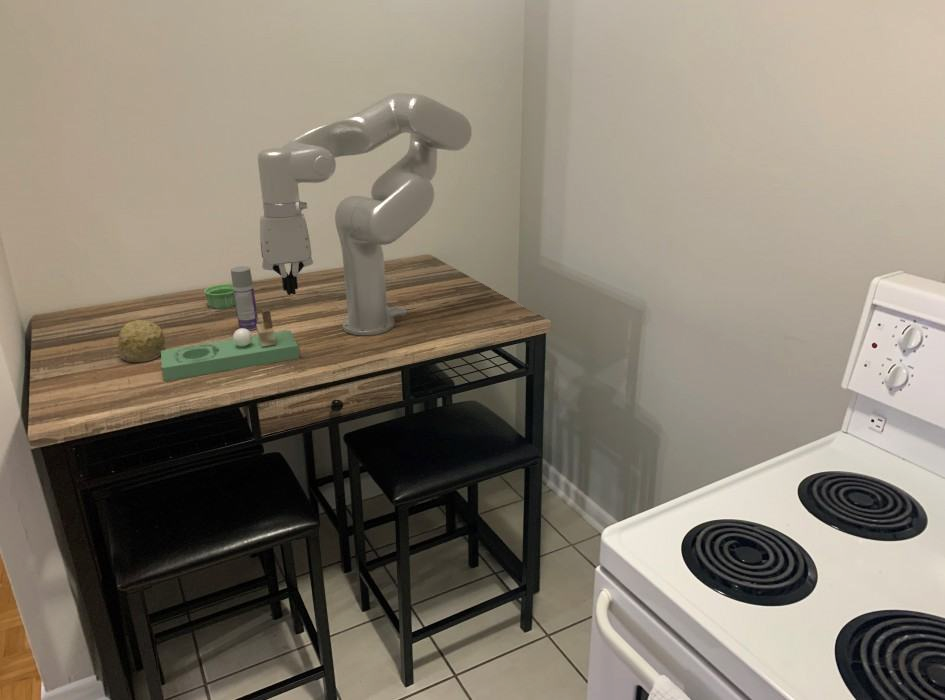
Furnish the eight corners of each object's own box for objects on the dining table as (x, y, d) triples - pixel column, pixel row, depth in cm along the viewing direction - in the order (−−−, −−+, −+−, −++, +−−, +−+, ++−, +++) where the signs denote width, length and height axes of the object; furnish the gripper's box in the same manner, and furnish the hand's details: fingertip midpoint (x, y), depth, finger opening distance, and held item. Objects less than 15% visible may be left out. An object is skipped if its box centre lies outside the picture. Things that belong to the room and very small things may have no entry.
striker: (271, 335, 166) (267, 305, 163) (275, 344, 161) (271, 313, 158) (258, 337, 165) (253, 307, 162) (261, 346, 160) (257, 315, 157)
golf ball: (252, 341, 164) (249, 324, 162) (254, 347, 160) (251, 330, 159) (233, 344, 162) (230, 327, 161) (235, 350, 159) (232, 333, 157)
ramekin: (246, 298, 200) (243, 283, 198) (235, 309, 192) (233, 294, 190) (213, 298, 200) (211, 283, 199) (201, 310, 192) (199, 294, 190)
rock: (161, 358, 172) (140, 321, 171) (179, 346, 164) (156, 307, 163) (124, 376, 165) (101, 337, 164) (140, 364, 157) (116, 323, 156)
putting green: (291, 342, 170) (290, 330, 169) (299, 358, 162) (298, 345, 161) (163, 363, 161) (160, 350, 160) (164, 381, 152) (161, 368, 151)
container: (246, 323, 182) (237, 265, 176) (262, 325, 181) (254, 266, 175) (235, 330, 178) (226, 271, 172) (252, 332, 177) (243, 272, 171)
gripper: (314, 203, 159) (321, 284, 166) (243, 209, 154) (253, 292, 161) (321, 210, 153) (328, 293, 160) (247, 216, 148) (258, 302, 155)
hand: (290, 292), depth 161 cm, fingers closed
